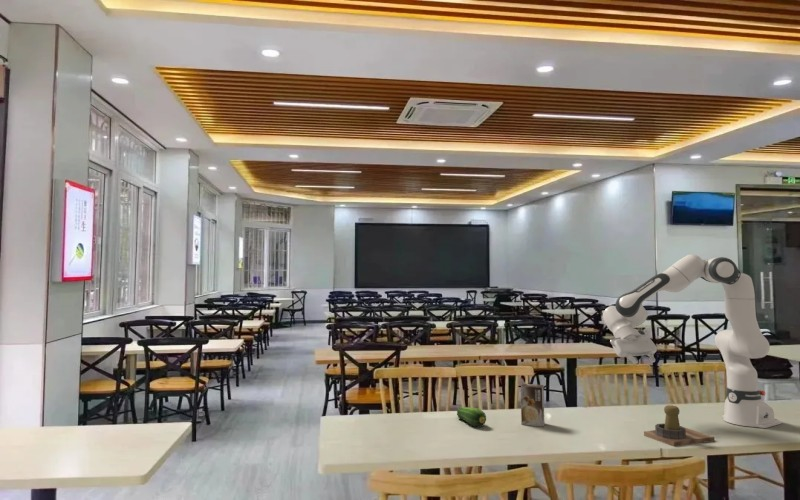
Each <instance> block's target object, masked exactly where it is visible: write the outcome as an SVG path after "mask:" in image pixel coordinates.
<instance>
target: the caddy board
mask: <svg viewBox="0 0 800 500" xmlns="http://www.w3.org/2000/svg"><path fill="white" fill-rule="evenodd" d="M664 427H665V423H656V424H655V429H654V430H646V431H643V436H645V437H647V438H650V439H653V440H656V441H658V442H660V443H661V442H662V443H664V444H666V445H669V446H672V447H679V446H686V445H694V444H700V443H707V442H709V443H710V442H715V437H714V436H713V435H709V434H706V433H703V432H700V431H697V430H694V429H690V428H687V427H685V426H681V425H680V430H668V429H664Z"/></svg>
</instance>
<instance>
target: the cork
mask: <svg viewBox="0 0 800 500" xmlns="http://www.w3.org/2000/svg"><path fill="white" fill-rule="evenodd" d="M663 411H664V414H665V419H664V424H665V427H664V429H668V430H680V426H681V425H680V419H679V415H680V408H679V407H678V406H677V405H676V406H675V405H671V404H669V405H668V404H667V405H665V407H664V409H663Z"/></svg>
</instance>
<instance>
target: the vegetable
mask: <svg viewBox="0 0 800 500" xmlns="http://www.w3.org/2000/svg"><path fill="white" fill-rule="evenodd" d="M456 416H457V417H458V419H460V420H462V421H464V422H466V423H468V424H469V425H471V426H472V427H479V428H480V427H482V426H484V425H485V423H486V421H487V415H486V413H485V412H484V411H483V410H481V408H478V407H477V408H476V407H469V406H468V407H467V406H465V407H464V406H463V407H459V408H458V409H457V410H456Z"/></svg>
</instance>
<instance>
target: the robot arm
mask: <svg viewBox="0 0 800 500" xmlns="http://www.w3.org/2000/svg"><path fill="white" fill-rule="evenodd" d="M700 278H701V279H702V280H704V281H706V282H709V283H714V284H721V285H722V287H723V290H724V315H725V316H724V317H725V318H726V319H727V320H728V321H729V323H730V326H731V329H725V330H720V331H719V332H717V333H716V334H715V337H714V344H715V346H716V348H717V349H718V350H719V352H720V353H721V356H722V359H723V362H724V365H725V366H724V367H725V369H726V370H725V372H726V387H725V394H726V398H725V400H724V412H723V414H722V418H723V420H724V422H727V423H729V424H732V425H733V424H734V425H737V426H744V427H751V428H752V427H753V428H760V429H766V428H771V427H774V426H778V425H782V421H781V420H780V419H777V418H775V411H774V409H773V407H772V406H770V405H769V404H768V403H766V401H764V400H763V399H762V396H766V392H765V390H761V389H760V390H759V384H758V371H757V370H756V368H755V366H753V364H752V361H751V359H762V358H765V357H767V355H768V354H769V352H770V342H769V341H768V339H767V337H765V336H764V335H763V333H762V331H761V329H760V326H759V323H758V320H757V314H756V313H757V312H756V294H755V288H754V282H753V279H752V277H751V276H750V275H749V274H746V273H744V272H741V271H740V269H739V267H738V266H737V264H736V263H735V262H734V261H733V260H732V259H730V258H728V257H724V256H721V257H717V256H716V257H711V258H709V259H708V258H707V259H702V258H701V257H700V256H699V255H697V254H694V253H692V254H690V253H689V254H687V255H685V256H684V257H682V258H680V259H678V260H677V261H675V262H674V263H673V264H671V266H669V267H668V268H666V269H665V270H664V271H662V272H660V273H658V274H655V275H653V276H652V277H651V278H649V279H648V280H646V281H645V282H643V283H641V285H639V286H637V287H636V288H634V289H633V290H631V291H629V292H625V293H624V294H622V295H620V296H618V298H617V299H616V302H615V305H610V306H608V307H606V308H605V310H603V313H602V319H603V321H604V324H605V325H606V327H607V329H609V331H610V332H611V333H612V334H613V337H612V338H610V339H609V340H610V341H609V342H610V344H611V345H612V348H613V351H614V352H615V354H616V356H617V357H619V358H626V359H627V360H629V361H631V362H632V364H633V365H638V363H639V360H638V358H635V357H639V356H647V357H649V358H648V361H649V362H650V363H655V362H656V358H655V357H654V355H655V353H657V351H658V347H657V346H656V344H655V343H654V341H653V340H652V339H651V338H650V337H649V336H648V334H647V332H645V331H643V330H639V329H637V328H635V327H637V326H640V325H642V324H643V323H645V322H646V320H647V319H648V312H647V310H646V308H645V307H644V306H643V303H644V302H645V301H646V300H647V299H649V298H651V297H652V296H654V295H655V294H656V293H658V292H661V291H666V292H669V293H680V292H682V291H683V290H685V289H686V288H688V287H689V286H690V285H691V284H692V283H693V282H695V281H696V280H698V279H700Z"/></svg>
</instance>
